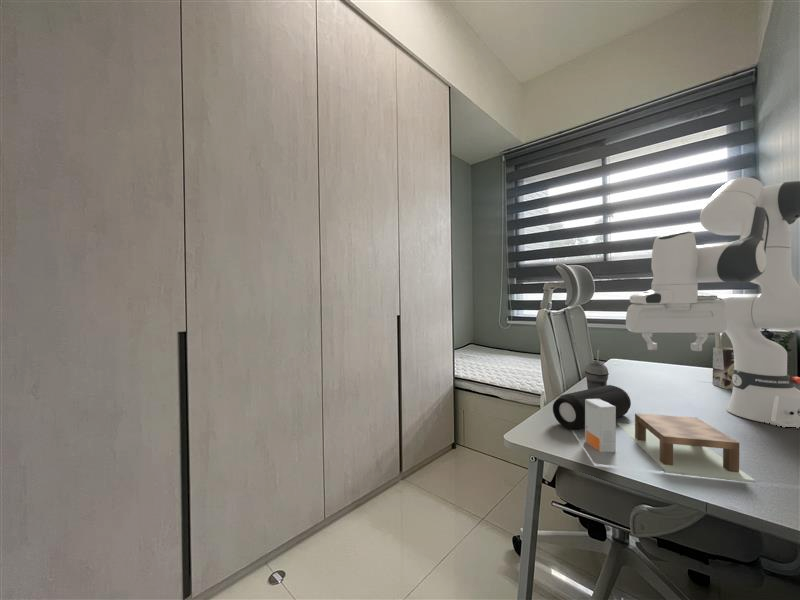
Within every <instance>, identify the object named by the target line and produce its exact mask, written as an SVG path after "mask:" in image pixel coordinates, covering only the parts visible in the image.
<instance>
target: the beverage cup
mask: <svg viewBox="0 0 800 600" xmlns="http://www.w3.org/2000/svg"><path fill="white" fill-rule="evenodd" d="M596 353H597V354H596V360H595V361H591V362H589V363H587V365H586V366H585V369H584V370H585V371H584V373H585V378H586V387H587V389H592V388H596V387H601V386H606V385H608V379H609V374H610V373H609V369H608V367H607V366H606V365H605V364H604V363H603V362H601V361H599V359H600V358H599V357H600V350H599V349H597V352H596Z"/></svg>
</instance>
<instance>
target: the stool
mask: <svg viewBox="0 0 800 600" xmlns="http://www.w3.org/2000/svg"><path fill="white" fill-rule="evenodd" d="M634 424H635V438H636V439H637V440H641V441H646V429H647V430H649V431H650V432H651V433H652V434H654V435H655V436H656V437H657V438H658V439H660V461H661V462H662V463H663V464H664V465H673V444H679V445H690V446H701V447H708V448H713V449H714V448H715V449H722V458H723V467H724V468H725V469H726V470H728V471H730V472H739V469H740V442H739V441H737V440H735V439H734V438H732V437H731V436H730V435H729V436H728V435H727V434H725V433H723V432H722V431H720V430H718V429H716V428H715V427H713V426H711V425H710V424H708V423H707V422H704V421H703V420H701V419H700V418H698V417H693V416H692V417H691V416H690V417H689V416H677V415H675V416H674V415H664V414H663V415H662V414H651V413H650V414H649V413H648V414H647V413H635V412H634Z"/></svg>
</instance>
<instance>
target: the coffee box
mask: <svg viewBox="0 0 800 600" xmlns="http://www.w3.org/2000/svg"><path fill="white" fill-rule="evenodd" d="M712 351H713V352H712V385H713V386H715V387H719V388H722V389H724V390H733V383H732V369H733V368H734V352H733V347H723V346H722V347H720V346H719V347H718V346H717V347H713V348H712Z"/></svg>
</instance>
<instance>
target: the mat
mask: <svg viewBox="0 0 800 600" xmlns="http://www.w3.org/2000/svg"><path fill="white" fill-rule="evenodd" d="M616 425H618V427H620V428H621V429H622V430H623V431H624V432H625V433H626V434H627V435H629V437H630V438H631V439H632V440H633V441H634V442H635V443H636V444H637V445H639V446H640V447H641V448H642V449H643V451H645V452H646V453H647V455H648V456H650V457H651V458H652V459H653V460H654V461H655V462H656V463H657V464H658V465H659V466H660V467H661V468H662V469H663V472H664V473H666V474H673V475H674V474H675V475H683V476H693V477H701V478H709V479H719V480H726V481H727V480H728V481H739V482H744V483H745V482H746V483H756V479H754V478H752V477H751V476H750V475H748V474H747V473H746V472H744V471H743V470H741V469H740V468H739V472H730V471H728V470H726V469H725V468H724V467H723V456H721V455H719V453H717V452H715V451H714V450H712V449H710V447H701V446H690V445H679V444H673V465H664V464H663V463H662V462H661V461H660V439H658V438H657V437H656V436H655V435H654V434H652V433H651V432H650V431H649V430H647V429H646V441H641V440H637V439H636V438H635V423H634V424H633V423H623V422H622V423H621V422H620V423H619V422H617V423H616Z"/></svg>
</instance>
